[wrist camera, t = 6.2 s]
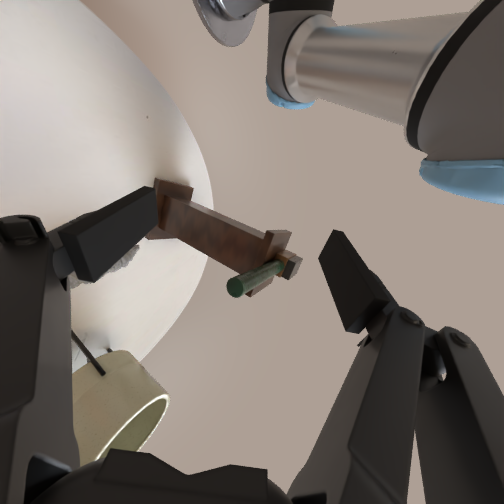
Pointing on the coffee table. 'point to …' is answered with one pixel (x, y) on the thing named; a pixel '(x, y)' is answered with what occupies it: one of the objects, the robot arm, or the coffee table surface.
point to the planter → (114, 404)
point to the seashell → (118, 265)
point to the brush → (265, 273)
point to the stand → (214, 231)
